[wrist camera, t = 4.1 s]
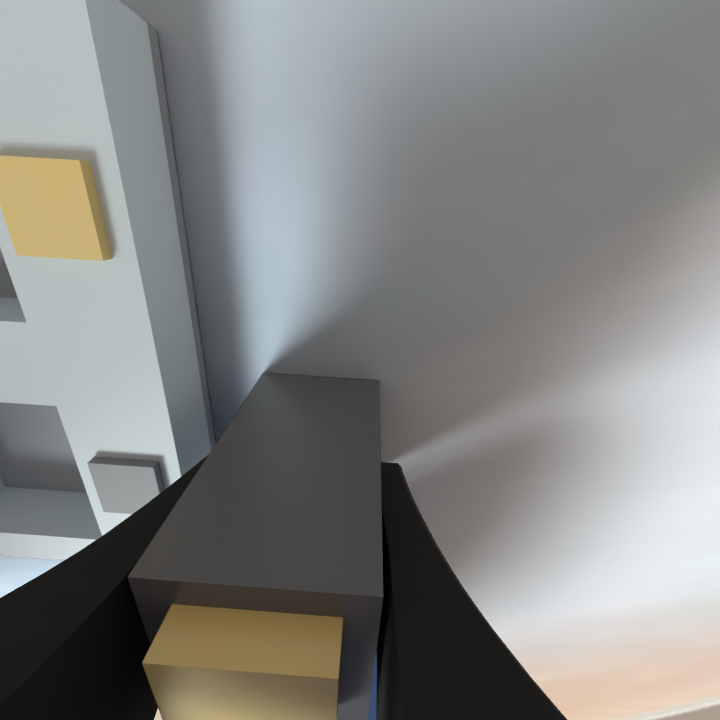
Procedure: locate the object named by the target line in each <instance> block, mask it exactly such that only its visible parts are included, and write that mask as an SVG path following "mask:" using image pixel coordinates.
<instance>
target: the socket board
mask: <svg viewBox="0 0 720 720" xmlns="http://www.w3.org/2000/svg"><path fill="white" fill-rule="evenodd" d="M215 445H216V443H215V436H214V429H213V422H212V415H211V408H210V401H209V394H208V387H207V380H206V373H205V366H204V359H203V352H202V345H201V338H200V331H199V324H198V317H197V309H196V302H195V295H194V288H193V281H192V274H191V267H190V260H189V253H188V246H187V239H186V232H185V225H184V218H183V211H182V204H181V197H180V190H179V183H178V176H177V169H176V162H175V155H174V148H173V141H172V134H171V127H170V120H169V112H168V105H167V98H166V91H165V84H164V77H163V70H162V63H161V56H160V49H159V42H158V35H157V30H156V29H155V28H153V27H152V26H151V25H150V24H148V23H147V22H146V21H145V20H143V19H142V18H141V17H140V16H138V15H137V14H136V13H134V12H133V11H132V10H131V9H129V8H128V7H127V6H126V5H124V4H123V3H122V2H120V1H119V0H0V556H13V557H26V558H39V559H52V560H66V559H68V558H69V557H71V556H72V555H74V554H75V553H77V552H79V551H80V550H82V549H83V548H85V547H86V546H88V545H89V544H91V543H92V542H94V541H95V540H97V539H98V538H100V537H101V536H103V535H104V534H106V533H107V532H109V531H110V530H111V529H113V528H114V527H115V526H117V525H118V524H120V523H121V522H122V521H124V520H125V519H126V518H128V517H129V516H131V515H132V514H133V513H135V512H136V511H137V510H139V509H140V508H142V507H143V506H144V505H146V504H147V503H148V502H150V501H151V500H152V499H153V498H155V497H156V496H157V495H159V494H160V493H161V492H162V491H164V490H165V489H166V488H168V487H169V486H170V485H171V484H173V483H174V482H175V481H176V480H178V479H179V478H180V477H181V476H183V475H184V474H185V473H186V472H187V471H189V470H190V469H191V468H192V467H194V466H195V465H196V464H197V463H199V462H200V461H201V460H202V459H204V458H205V457H206V456H207V455H209V454H210V452H211V451H212V449H213V448H214V446H215Z"/></svg>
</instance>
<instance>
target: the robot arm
mask: <svg viewBox="0 0 720 720" xmlns="http://www.w3.org/2000/svg"><path fill="white" fill-rule="evenodd" d="M207 457H208V455H207V456H206V457H205V458H204V459H202V460H201V461H200V462H199V463H197V464H196V465H195V466H194V467H192V468H191V469H190V470H189V471H187V472H186V473H185V474H184V475H183V476H181V477H180V478H179V479H178V480H176V481H175V482H174V483H173V484H171V485H170V486H169V487H168V488H166V489H165V490H164V491H162V492H161V493H160V494H159V495H157V496H156V497H155V498H153V499H152V500H151V501H150V502H148V503H147V504H146V505H144V506H143V507H142V508H140V509H139V510H137V511H136V512H135V513H133V514H132V515H131V516H129V517H128V518H126V519H125V520H124V521H122V522H121V523H120V524H118V525H117V526H115V527H114V528H113V529H111V530H110V531H109V532H107V533H106V534H104V535H103V536H101V537H100V538H98V539H97V540H95V541H94V542H92V543H91V544H89V545H88V546H86V547H85V548H83V549H82V550H80V551H79V552H77V553H75V554H74V555H72V556H71V557H69V558H68V559H66V560H64V561H63V562H61V563H60V564H58V565H56V566H55V567H53V568H52V569H50V570H48V571H47V572H45V573H43V574H42V575H40V576H38V577H36V578H35V579H33V580H31V581H29V582H28V583H26V584H24V585H22V586H21V587H19V588H17V589H15V590H14V591H12V592H10V593H8V594H7V595H5V596H3V597H1V598H0V720H154V717H155V714H156V712H157V709H158V706H157V703H156V700H155V697H154V695H153V692H152V689H151V686H150V684H149V681H148V678H147V675H146V673H145V670H144V667H143V664H142V662H143V660H144V658H145V656H146V654H147V652H148V650H149V648H150V643H149V640H148V637H147V634H146V631H145V628H144V625H143V622H142V619H141V616H140V613H139V610H138V607H137V604H136V601H135V598H134V595H133V592H132V589H131V586H130V583H129V580H128V576H129V574H130V573H131V571H132V570H133V568H134V567H135V565H136V564H137V562H138V561H139V559H140V558H141V556H142V555H143V553H144V552H145V550H146V549H147V547H148V546H149V544H150V543H151V541H152V540H153V538H154V536H155V535H156V533H157V532H158V530H159V529H160V527H161V526H162V524H163V523H164V521H165V520H166V518H167V517H168V515H169V514H170V512H171V511H172V509H173V508H174V506H175V505H176V503H177V502H178V500H179V499H180V497H181V496H182V494H183V493H184V491H185V490H186V488H187V487H188V485H189V484H190V482H191V481H192V479H193V478H194V476H195V475H196V473H197V472H198V470H199V469H200V467H201V466H202V464H203V463H204V461H205V460H206V458H207ZM381 501H382V554H383V603H382V611H381V619H380V626H379V634H378V642H377V649H376V653H377V695H376V720H567V719H566V718H565V717H564V715H563V714H562V713H561V712H560V711H559V710H558V708H557V707H556V706H555V705H554V704H553V703H552V701H551V700H550V699H549V698H548V697H547V696H546V694H545V693H544V692H543V691H542V690H541V689H540V687H539V686H538V685H537V684H536V683H535V682H534V680H533V679H532V678H531V677H530V676H529V674H528V673H527V672H526V670H525V669H524V668H523V667H522V665H521V664H520V663H519V662H518V660H517V659H516V658H515V657H514V655H513V654H512V653H511V651H510V650H509V649H508V648H507V646H506V645H505V644H504V643H503V641H502V640H501V639H500V638H499V636H498V635H497V634H496V632H495V631H494V630H493V629H492V627H491V626H490V625H489V623H488V622H487V620H486V619H485V618H484V616H483V615H482V613H481V612H480V611H479V609H478V608H477V607H476V605H475V604H474V602H473V601H472V599H471V598H470V596H469V595H468V594H467V592H466V591H465V589H464V588H463V586H462V585H461V583H460V582H459V580H458V579H457V577H456V575H455V574H454V572H453V571H452V569H451V567H450V566H449V564H448V563H447V561H446V559H445V558H444V556H443V554H442V552H441V551H440V549H439V547H438V546H437V544H436V542H435V540H434V538H433V537H432V535H431V533H430V531H429V529H428V527H427V525H426V523H425V521H424V519H423V518H422V516H421V514H420V512H419V510H418V508H417V505H416V503H415V501H414V499H413V497H412V494H411V492H410V490H409V487H408V485H407V482H406V480H405V477H404V474H403V471H402V468H401V466H400V465H399V464H397V463H383V462H381Z"/></svg>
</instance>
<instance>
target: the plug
mask: <svg viewBox="0 0 720 720" xmlns="http://www.w3.org/2000/svg"><path fill="white" fill-rule="evenodd" d="M128 580H129V583H130V586H131V589H132V592H133V595H134V598H135V601H136V604H137V607H138V610H139V613H140V616H141V619H142V622H143V625H144V628H145V631H146V634H147V637H148V640H149V643H150V648H149V650H148V652H147V654H146V656H145V658H144V660H143V662H142V664H143V667H144V670H145V673H146V675H147V678H148V681H149V684H150V686H151V689H152V692H153V695H154V697H155V700H156V703H157V706H158V708H159V711H160V714H161V717H162V719H163V720H367V719H368V711H369V703H370V696H371V688H372V680H373V673H374V665H375V657H376V649H377V642H378V634H379V626H380V619H381V611H382V603H383V554H382V501H381V447H380V394H379V381H375V380H360V379H345V378H331V377H316V376H301V375H286V374H272V373H263V374H262V375H261V377H260V378H259V380H258V381H257V383H256V384H255V386H254V387H253V389H252V390H251V392H250V393H249V395H248V396H247V398H246V399H245V401H244V402H243V404H242V405H241V407H240V408H239V410H238V411H237V413H236V414H235V416H234V417H233V419H232V420H231V422H230V423H229V425H228V427H227V428H226V430H225V431H224V433H223V434H222V436H221V437H220V439H219V440H218V442H217V443H216V445H215V446H214V448H213V449H212V451H211V452H210V454H209V455H208V457H207V458H206V460H205V461H204V463H203V464H202V466H201V467H200V469H199V470H198V472H197V473H196V475H195V476H194V478H193V479H192V481H191V482H190V484H189V485H188V487H187V488H186V490H185V491H184V493H183V494H182V496H181V497H180V499H179V500H178V502H177V503H176V505H175V506H174V508H173V509H172V511H171V512H170V514H169V515H168V517H167V518H166V520H165V521H164V523H163V524H162V526H161V527H160V529H159V530H158V532H157V533H156V535H155V536H154V538H153V540H152V541H151V543H150V544H149V546H148V547H147V549H146V550H145V552H144V553H143V555H142V556H141V558H140V559H139V561H138V562H137V564H136V565H135V567H134V568H133V570H132V571H131V573H130V574H129V576H128Z"/></svg>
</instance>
